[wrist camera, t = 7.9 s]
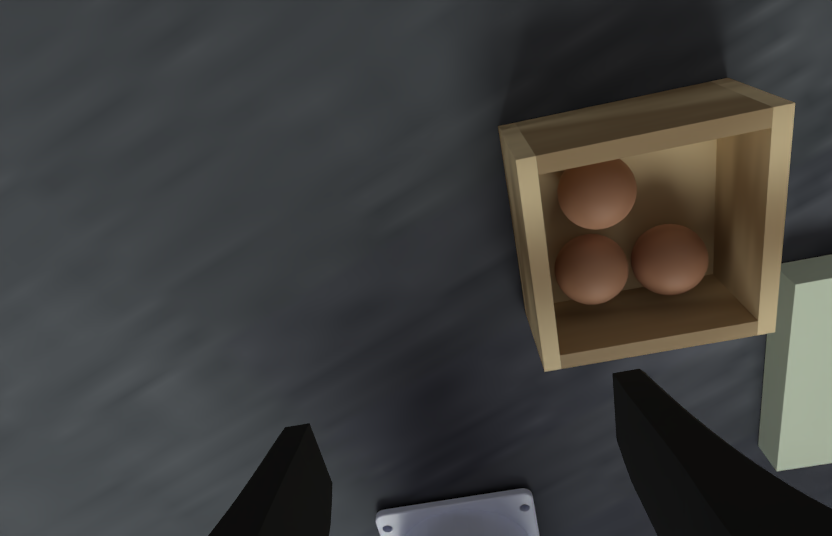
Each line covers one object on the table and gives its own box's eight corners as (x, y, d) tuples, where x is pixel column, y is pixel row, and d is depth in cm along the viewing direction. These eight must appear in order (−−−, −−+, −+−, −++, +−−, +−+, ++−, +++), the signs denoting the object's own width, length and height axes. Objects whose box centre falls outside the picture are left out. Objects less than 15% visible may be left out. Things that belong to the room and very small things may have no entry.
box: (721, 277, 24) (775, 332, 20) (525, 312, 25) (544, 371, 21) (727, 77, 20) (795, 102, 17) (498, 126, 21) (515, 160, 17)
